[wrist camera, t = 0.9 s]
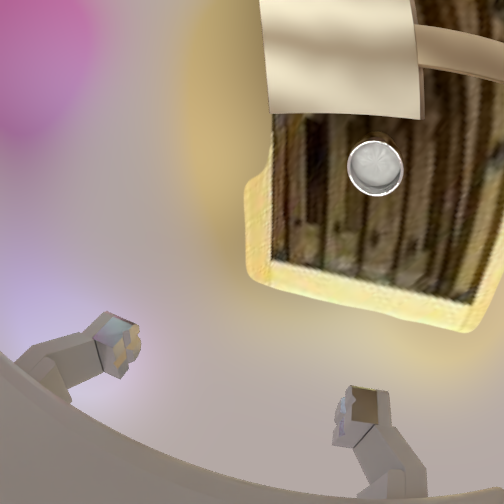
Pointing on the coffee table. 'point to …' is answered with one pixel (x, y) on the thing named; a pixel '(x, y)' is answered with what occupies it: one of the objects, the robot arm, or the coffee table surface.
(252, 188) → the coffee table surface
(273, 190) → the coffee table surface
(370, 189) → the beer glass
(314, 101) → the beige t-shaped block
